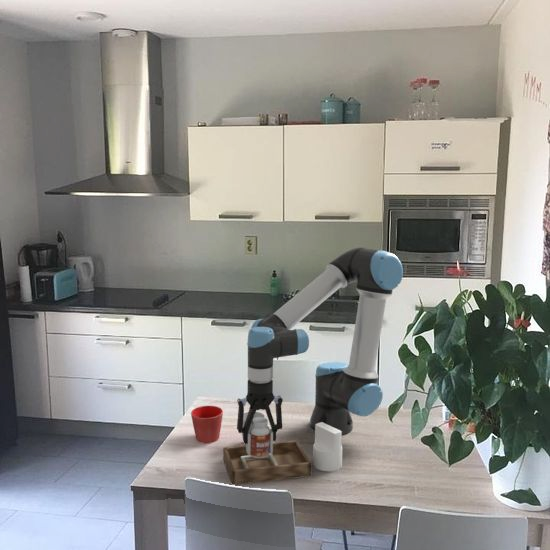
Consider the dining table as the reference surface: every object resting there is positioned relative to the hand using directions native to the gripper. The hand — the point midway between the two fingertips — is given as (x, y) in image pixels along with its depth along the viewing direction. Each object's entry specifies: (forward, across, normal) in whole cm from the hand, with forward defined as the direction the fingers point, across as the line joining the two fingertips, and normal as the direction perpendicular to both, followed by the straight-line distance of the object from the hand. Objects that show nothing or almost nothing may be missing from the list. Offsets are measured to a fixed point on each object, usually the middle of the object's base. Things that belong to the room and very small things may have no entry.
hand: (259, 451), depth 187 cm
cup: (+6, -1, -16) cm, 17 cm away
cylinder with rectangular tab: (+6, -21, +2) cm, 22 cm away
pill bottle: (+1, 0, 0) cm, 1 cm away
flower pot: (+6, +13, -24) cm, 28 cm away
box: (+5, -2, 0) cm, 6 cm away
